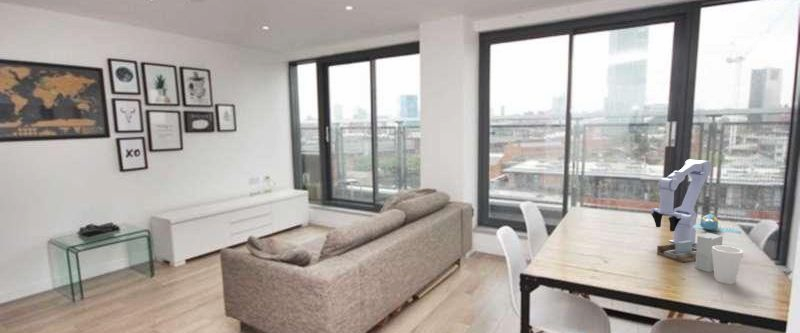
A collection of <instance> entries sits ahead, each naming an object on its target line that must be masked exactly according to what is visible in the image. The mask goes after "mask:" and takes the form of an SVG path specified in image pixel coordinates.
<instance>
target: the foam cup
mask: <svg viewBox="0 0 800 333" xmlns="http://www.w3.org/2000/svg"><path fill="white" fill-rule="evenodd" d="M743 255H744V251H743V250H742V249H740V248H737V247H733V246H730V245H723V244H722V245H716V246H713V247H712V256H713V266H714V271H713V275H714V280H715V281H717V282H718V283H722V284H726V285H727V284H729V285H733V284H736V281H737V276H738V274H739V269H740V265H741V262H742V261H741V260H742V258H743Z"/></svg>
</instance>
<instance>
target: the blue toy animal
mask: <svg viewBox="0 0 800 333" xmlns="http://www.w3.org/2000/svg"><path fill="white" fill-rule="evenodd" d="M693 227H694V228H695V229H699V230H710V231H715V232H723V233H734V234H739V235H740V234H742V233H741V232H742V231H741V230H737V229H732V228H727V227H721V226H720V227H719V220H718V219H717V216H714V214H709V213H708V214H706V215H703V216H702V218H701V219H700V224H695V225H694V226H693Z"/></svg>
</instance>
